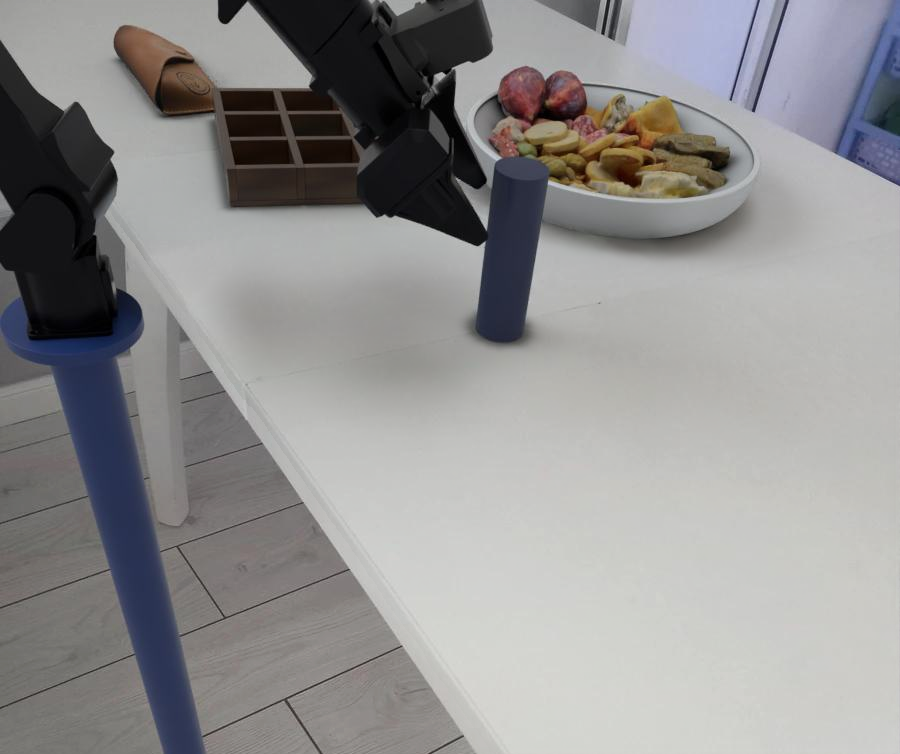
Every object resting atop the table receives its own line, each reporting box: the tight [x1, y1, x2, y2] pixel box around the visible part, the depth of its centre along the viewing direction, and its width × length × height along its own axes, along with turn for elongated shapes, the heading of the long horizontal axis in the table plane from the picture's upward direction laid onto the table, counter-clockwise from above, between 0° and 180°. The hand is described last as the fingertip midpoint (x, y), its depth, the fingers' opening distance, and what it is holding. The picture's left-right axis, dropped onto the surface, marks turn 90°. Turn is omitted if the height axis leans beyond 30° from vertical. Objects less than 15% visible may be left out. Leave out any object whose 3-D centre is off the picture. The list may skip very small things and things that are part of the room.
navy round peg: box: [474, 156, 550, 343], centre depth 68 cm, size 4×4×13 cm
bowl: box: [465, 65, 762, 239], centre depth 91 cm, size 30×30×8 cm
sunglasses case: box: [112, 24, 217, 116], centre depth 101 cm, size 18×7×7 cm
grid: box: [212, 87, 379, 207], centre depth 91 cm, size 20×20×4 cm
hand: (483, 212), depth 66 cm, fingers open, 9 cm apart
